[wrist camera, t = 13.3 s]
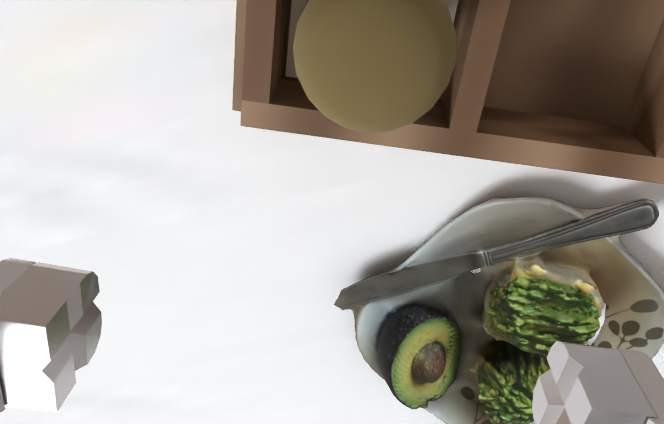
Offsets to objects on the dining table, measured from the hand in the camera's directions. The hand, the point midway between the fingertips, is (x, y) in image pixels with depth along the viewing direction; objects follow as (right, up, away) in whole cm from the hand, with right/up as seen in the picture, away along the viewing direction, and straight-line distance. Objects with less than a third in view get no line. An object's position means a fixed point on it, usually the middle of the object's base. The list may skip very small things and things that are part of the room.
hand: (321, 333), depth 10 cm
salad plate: (+11, -4, +27) cm, 29 cm away
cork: (+2, +12, +17) cm, 20 cm away
